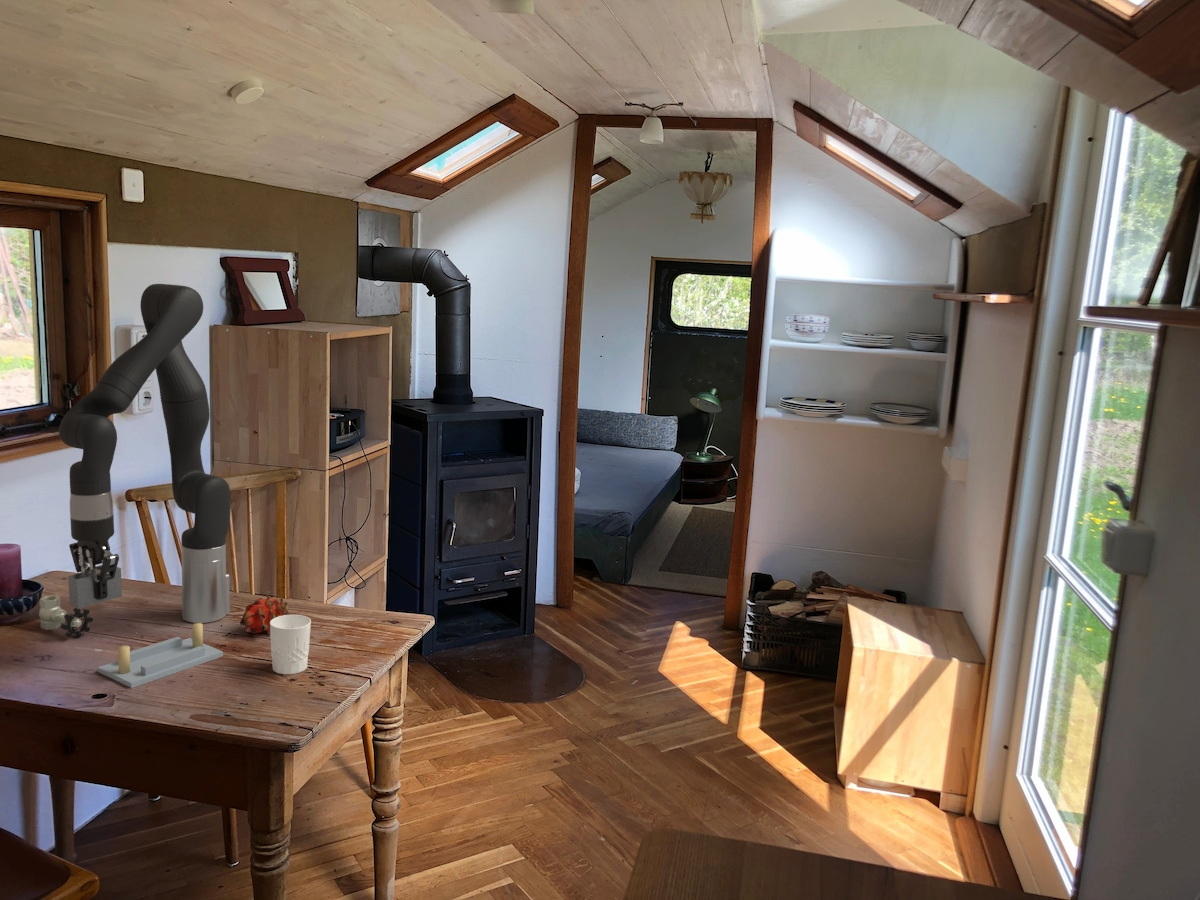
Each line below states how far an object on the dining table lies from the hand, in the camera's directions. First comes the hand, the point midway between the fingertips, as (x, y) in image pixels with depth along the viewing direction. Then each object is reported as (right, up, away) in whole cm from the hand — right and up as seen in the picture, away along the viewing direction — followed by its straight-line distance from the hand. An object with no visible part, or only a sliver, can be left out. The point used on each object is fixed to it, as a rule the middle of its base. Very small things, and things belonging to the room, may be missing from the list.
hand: (96, 596), depth 188 cm
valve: (-14, -10, +13) cm, 21 cm away
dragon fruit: (+26, -11, +20) cm, 35 cm away
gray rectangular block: (0, -1, 0) cm, 1 cm away
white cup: (+38, -15, +3) cm, 41 cm away
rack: (+13, -14, +1) cm, 19 cm away
